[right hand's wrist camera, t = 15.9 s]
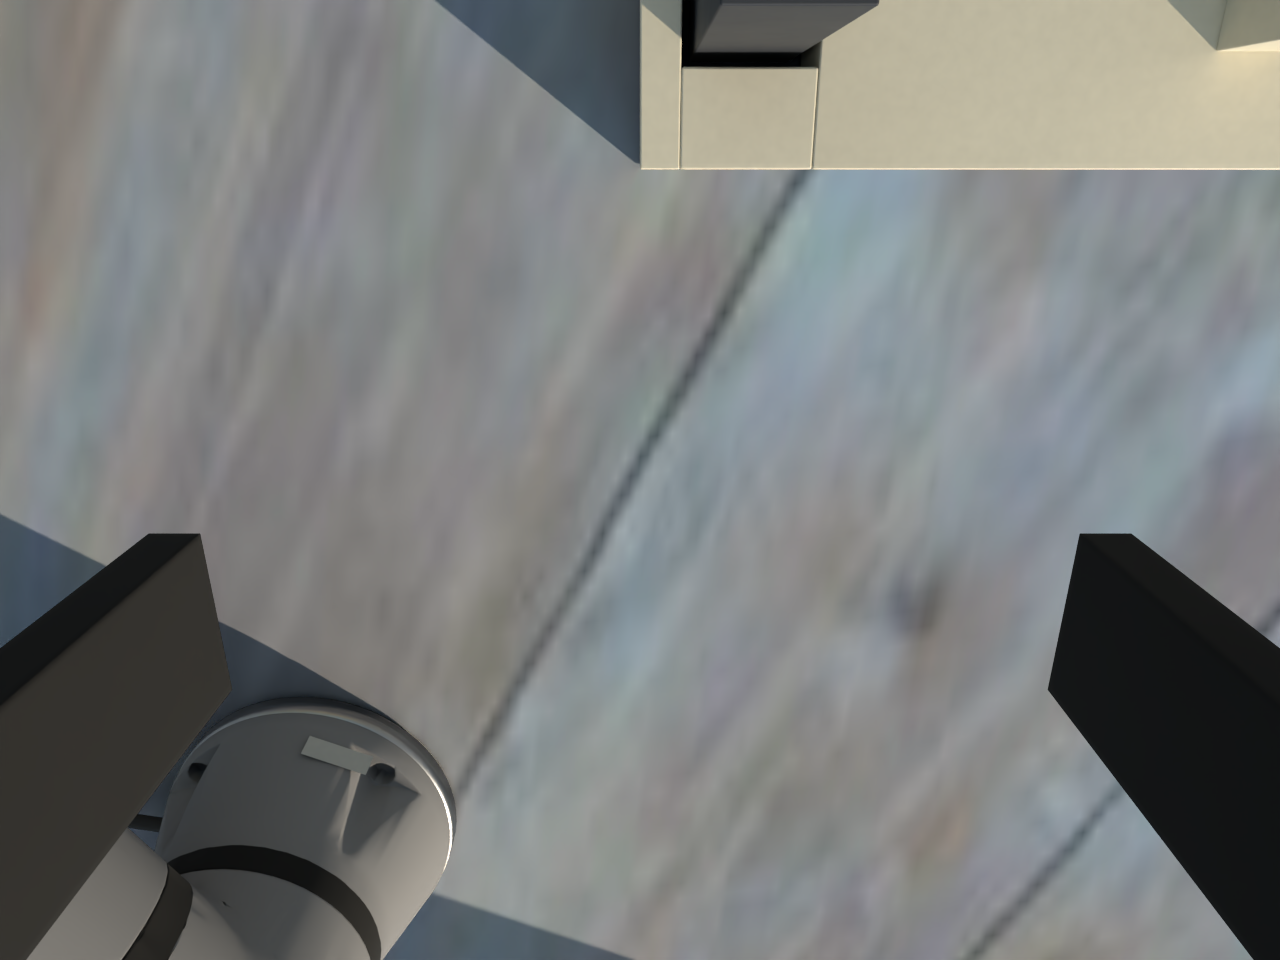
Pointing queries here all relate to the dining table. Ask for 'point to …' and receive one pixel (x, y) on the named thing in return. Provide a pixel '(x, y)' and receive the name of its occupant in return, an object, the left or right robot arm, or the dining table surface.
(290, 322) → the dining table surface
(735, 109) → the peg board
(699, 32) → the peg
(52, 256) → the dining table surface
